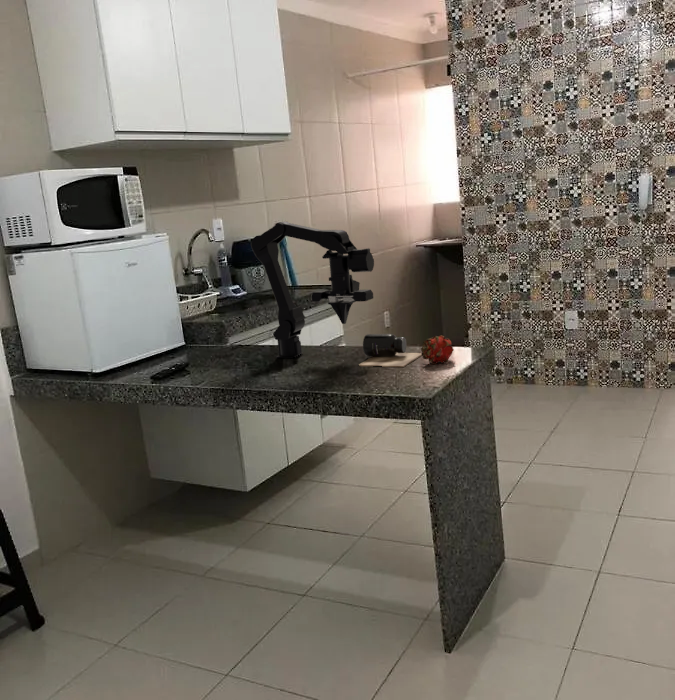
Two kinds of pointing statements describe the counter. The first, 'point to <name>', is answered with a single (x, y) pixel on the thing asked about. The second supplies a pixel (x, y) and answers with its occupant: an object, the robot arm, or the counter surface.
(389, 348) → the supplement bottle
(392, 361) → the cork mat
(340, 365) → the counter surface
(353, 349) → the counter surface
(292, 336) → the robot arm
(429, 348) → the dragon fruit
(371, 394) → the counter surface
